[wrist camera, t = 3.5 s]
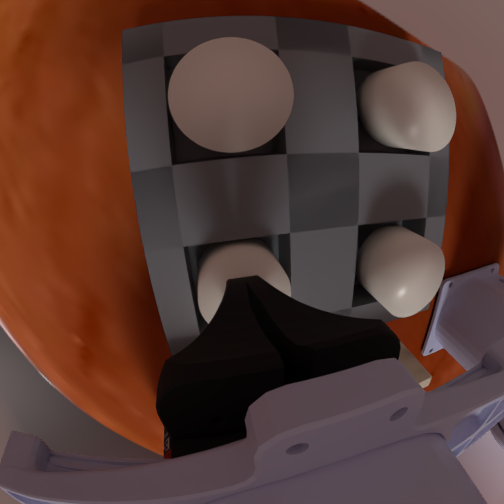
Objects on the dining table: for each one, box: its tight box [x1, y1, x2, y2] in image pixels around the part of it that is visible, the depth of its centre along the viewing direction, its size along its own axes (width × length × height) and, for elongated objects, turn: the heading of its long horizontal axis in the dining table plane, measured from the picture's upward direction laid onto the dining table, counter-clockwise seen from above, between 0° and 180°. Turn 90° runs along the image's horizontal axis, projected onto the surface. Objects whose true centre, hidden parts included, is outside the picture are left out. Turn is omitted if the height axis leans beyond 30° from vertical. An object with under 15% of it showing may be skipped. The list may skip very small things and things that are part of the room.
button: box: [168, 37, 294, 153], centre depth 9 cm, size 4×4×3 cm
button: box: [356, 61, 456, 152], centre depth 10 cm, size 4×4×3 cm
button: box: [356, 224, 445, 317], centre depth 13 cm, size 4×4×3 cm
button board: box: [122, 16, 449, 356], centre depth 14 cm, size 16×16×3 cm
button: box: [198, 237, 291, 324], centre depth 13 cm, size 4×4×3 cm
